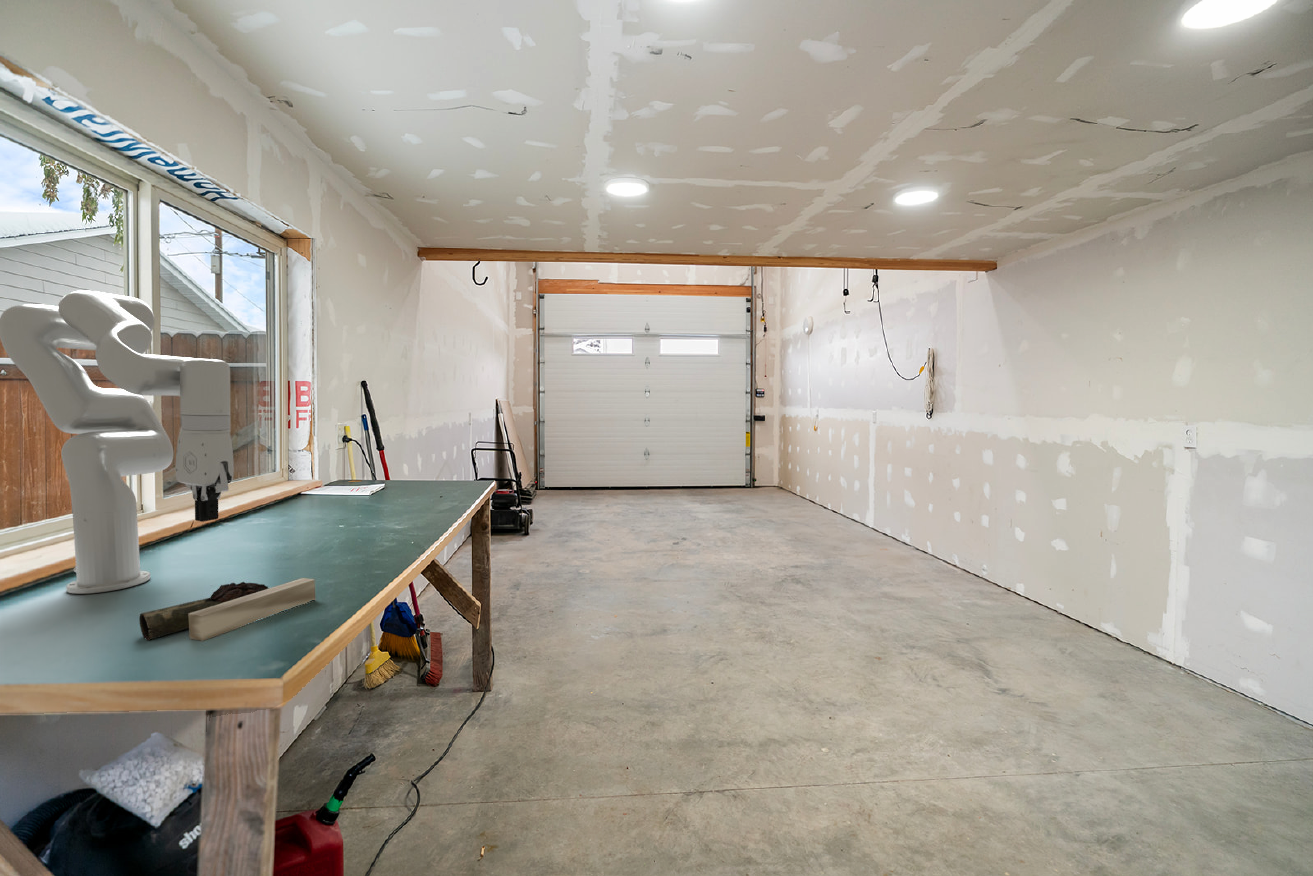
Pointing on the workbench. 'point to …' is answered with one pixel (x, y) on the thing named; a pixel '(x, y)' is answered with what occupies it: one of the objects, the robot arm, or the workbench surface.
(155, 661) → the workbench surface
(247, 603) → the bar
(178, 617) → the brown long lumpy piece
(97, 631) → the workbench surface
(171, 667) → the workbench surface
